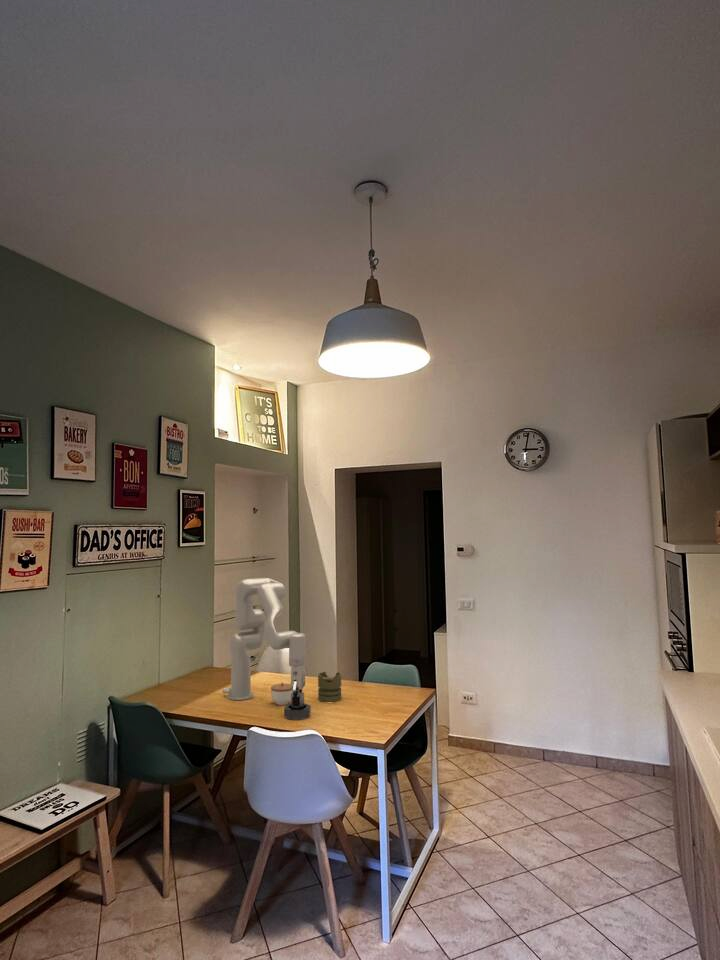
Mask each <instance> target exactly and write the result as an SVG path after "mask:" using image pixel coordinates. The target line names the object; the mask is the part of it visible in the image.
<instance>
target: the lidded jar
mask: <svg viewBox="0 0 720 960" xmlns="http://www.w3.org/2000/svg"><path fill="white" fill-rule="evenodd" d="M270 691H271V692H270V693H271V698H272V701H273V702H274V703H275V705H277V706H284V705H285V706H286V705H288V704H290V703H291V693H293V690H292V689H291V683H284V682H281V683H277V684H273V685H271V687H270Z"/></svg>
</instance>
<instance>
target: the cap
mask: <svg viewBox="0 0 720 960" xmlns="http://www.w3.org/2000/svg"><path fill="white" fill-rule="evenodd" d="M297 693H298V692H297ZM292 694H293V693H291V700H290V704H291V707H294V708H299V707H303V706H304V703H305V692H303V691H302V692H299V696H300V705H299V706H292Z"/></svg>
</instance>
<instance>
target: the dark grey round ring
mask: <svg viewBox="0 0 720 960" xmlns="http://www.w3.org/2000/svg"><path fill="white" fill-rule="evenodd" d="M311 710H312V709H311V704H309V703H305V702H304V706H303V707H299V708H294V707H291V703H288V704H286V705H285V706H284V707H283V715H284V718H285V719H287V720H290V721H300V720H301V721H302V720H307V719H308V718H310V717H309V716H311V713H312V711H311Z"/></svg>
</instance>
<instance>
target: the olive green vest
mask: <svg viewBox="0 0 720 960" xmlns="http://www.w3.org/2000/svg"><path fill="white" fill-rule="evenodd" d="M317 687H318V689H317V692H318V695H317V698H318V699H317V701H318V700H319V701H318V702H321V703H324V702H334V703H338V702H341V701H340V700H342V688H341V687H342V672H339V671H336V673H335V675H334V676H328V675H327V673H326V671H323V672H319V673H318V674H317ZM337 701H338V702H337Z"/></svg>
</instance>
